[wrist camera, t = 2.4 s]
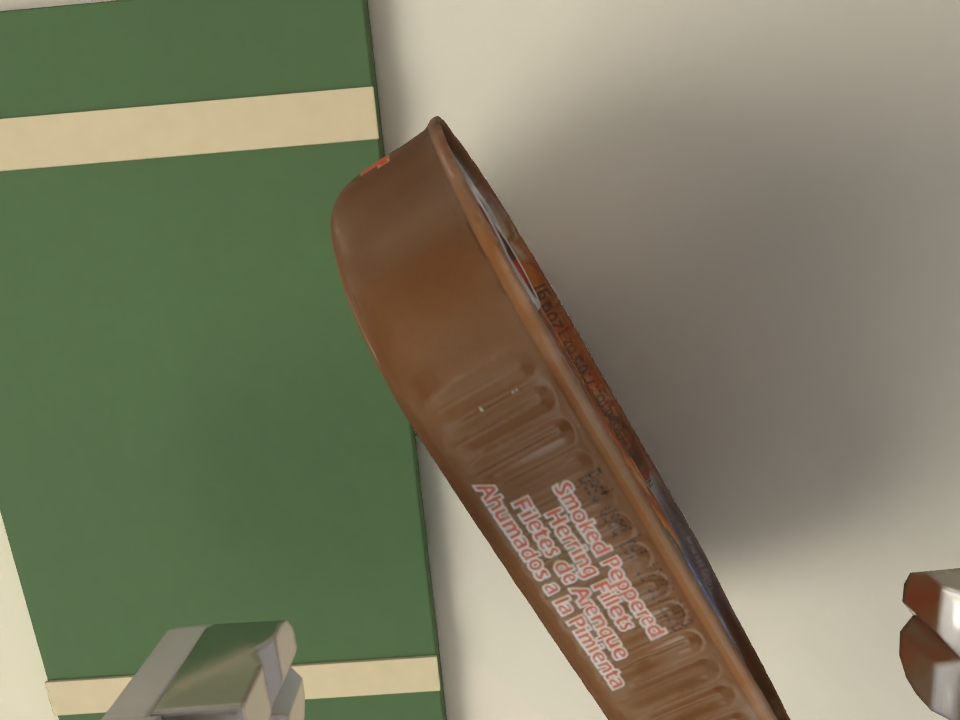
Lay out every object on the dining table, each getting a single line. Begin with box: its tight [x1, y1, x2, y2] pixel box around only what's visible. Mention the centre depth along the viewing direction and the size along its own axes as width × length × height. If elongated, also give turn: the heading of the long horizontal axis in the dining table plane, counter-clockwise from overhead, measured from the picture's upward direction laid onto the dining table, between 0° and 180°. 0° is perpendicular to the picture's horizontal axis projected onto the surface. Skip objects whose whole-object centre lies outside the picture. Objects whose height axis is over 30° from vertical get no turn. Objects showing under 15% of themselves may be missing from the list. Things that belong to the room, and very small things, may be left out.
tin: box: [330, 116, 790, 720], centre depth 14 cm, size 15×3×8 cm, turn 31°
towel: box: [0, 0, 446, 720], centre depth 18 cm, size 12×22×1 cm, turn 5°
